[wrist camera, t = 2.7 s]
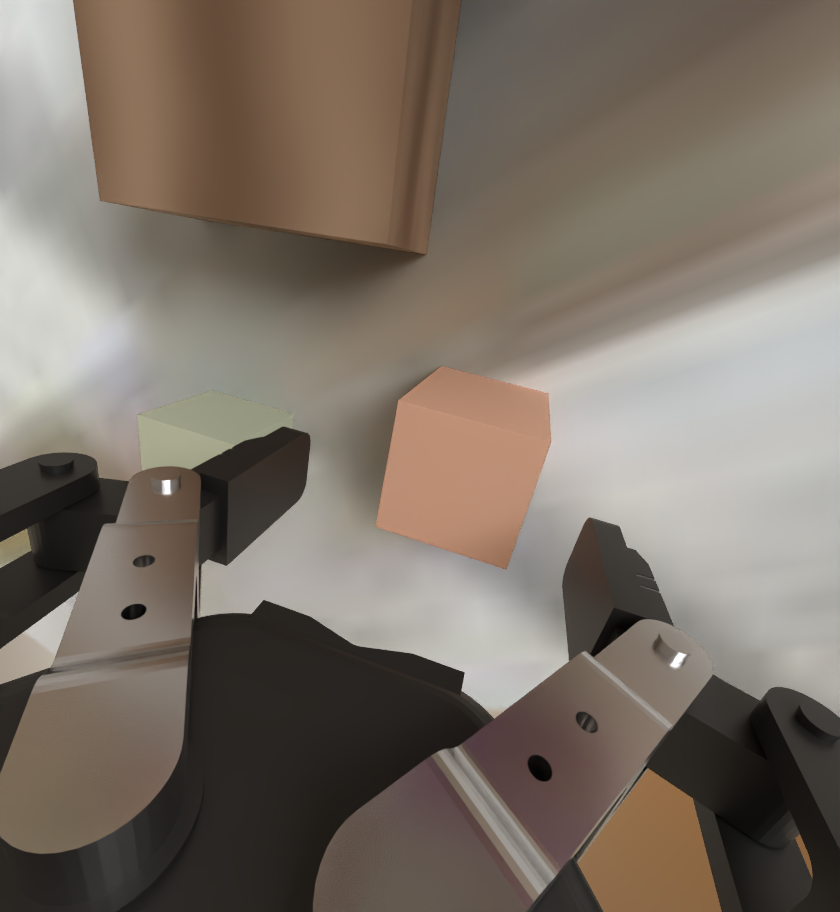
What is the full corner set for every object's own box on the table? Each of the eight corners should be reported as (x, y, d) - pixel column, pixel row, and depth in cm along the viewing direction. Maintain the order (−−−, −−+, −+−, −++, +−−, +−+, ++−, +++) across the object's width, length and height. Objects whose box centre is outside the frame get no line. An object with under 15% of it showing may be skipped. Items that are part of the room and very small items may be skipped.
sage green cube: (294, 413, 21) (234, 445, 17) (288, 493, 23) (233, 539, 19) (213, 390, 21) (136, 414, 17) (214, 469, 23) (145, 508, 19)
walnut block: (478, -111, 13) (445, -324, 8) (428, 254, 17) (387, 244, 12) (190, -111, 15) (34, -285, 10) (206, 220, 19) (99, 200, 14)
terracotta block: (548, 393, 17) (551, 442, 12) (516, 489, 19) (506, 569, 14) (441, 365, 18) (398, 400, 13) (420, 461, 20) (375, 526, 14)
